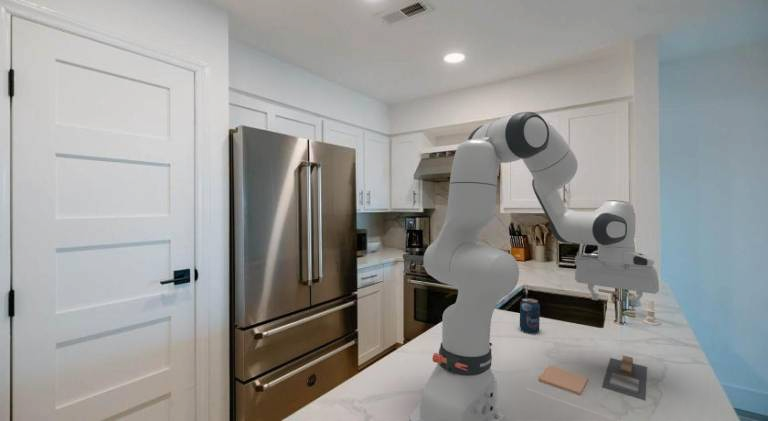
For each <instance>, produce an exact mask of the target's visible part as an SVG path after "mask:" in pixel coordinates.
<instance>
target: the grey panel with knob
mask: <svg viewBox="0 0 768 421" xmlns="http://www.w3.org/2000/svg"><path fill="white" fill-rule="evenodd" d="M621 361H622V363H621V368H620V375H619V374H615V373H612V376H611V379H610V386H612V387H615V388H618V389H622V390H625V391H629V392H632V393H635V394H638V390H639V380H637V379H634V378H631V375H632V368H633V364H634V362H633V361H634V358H633V357H631V356H627V355H622V359H621Z"/></svg>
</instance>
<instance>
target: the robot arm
mask: <svg viewBox="0 0 768 421" xmlns="http://www.w3.org/2000/svg"><path fill="white" fill-rule="evenodd" d="M520 160H522V161H523V163H524V164H525V166H526V168H527V169H528V171H529V173H530V174H531V176H532V180H531V182H532V183H531V186H532V189H533V192H534V194H535V197H536V198H537V200H538V203H539V206H540V207H541V208H542V210H543V212H544V215H545V217H546V218H547V220H548V223H549V227H550V231H551V233H552V235H553V237H554V239H555V240H557V241H558V242H559V243H564V244H582V245H590V246H597V253H586V252H580V253H579V254H578V253H577V255H576V256H575V257H574V264H575V266H576V268H575V275H574V280H575V281H576V282H577V283H579V284H586V285H587V288H588V291H589V292H590V294H591V300H593V301H598V300H599V293H597V292H595V290H594V288H595V286H598V287H605V288H613V289H620V290H624V291H625V290H626V291H633V292H636V293H635V295H636V297H635V298H634V299H633V298H631V299H630V307H634V308H637V307H638V301H639V300H640V299H641V298H642V297H643V295H644V294H643V293H646V294H654V295H655V294H657V293H659V292H660V282H659V281H660V280H659V276H658V271H657V269H656V267H655V266H654V265H655V260H654V258H653V257H651V256H648V255H646V254H643V253H640V252H637V251H635V250H636V249H635V244H634V237H635V233H636V213H635V209H634V206H633V205H632V204H631V203H630V202H628V201H622V200H613V199H612V200H604V201H602V203H601V206H600V207H598V208H597V209H594V210H592V211H589V210H588V211H583V210H582V211H577V210H572V209H569V208H568V207H566V205H565V203H564V201H563V199H562V196H561V194H560V193H559V190H560V189H562V188H564V187H565V186H566V185H568V184H569V183H570V182H571V181H572V179H573V178H574V177H575V175H576V173H577V170H578V166H579V164H578V160H577V158H576V155H575V153H574V152H573V150H572V149H571V147H570V145H569V144H568V143H567V141H566V139H565V138H564V137H563V136H562V134H561V133H560V132H559V131H558V130H557V129H556V128H555V127H554V126H553V125H552V124H551V123H550V122H549V121H547V120H545V119H544V117H542V116H541V115H540V114H538V113H536V112H533V111H522V112H517V113H515V114H512V115H509V116H505V117H501V118H500V117H499V118H497V119H494V120H492V121H489V122H487V123H486V124H483V125H480V126H478V127H476V129H474V130H473V131H472V132H471V133H470V134H469V136H468V138H467V140H465V141H463V142H461V143H460V144H459V145H458V146H457V148H456V150H455V153H454V157H453V161H452V166H451V171H450V178H449V186H448V197H447V198H448V200H447V208H446V215H445V218H444V221H443V225H442V227H441V230H440V231H439V234H438V235H437V237H436V239H435V240H434V241H433V242H432V243H431V244H430V245H429V246H427V247H426V250H425V252H424V254H423V261H422V262H423V266H424V270H425V272H426V273H427V275H429V276H431V277H432V278H434V279H435V280H437V281H438V282H440V283H442V284H445V285H448V286H451V287H455V288H457V290H458V291H457V298H456V301H455V302H454V303H453V304H451V305H449V306H448V307H446V308H445V310H444V311H443V313H442V326H441V327H442V330H441V332H442V333H441V339H442V340H441V343H440V346H439V349H438V352H437V353H436V352H435V353H433V354H432V362H433V363H434V364H435V363H436V366H435V368H434V369H433V371H432V372H431V375H430V376H429V379H428V381H427V382H426V385H425V387H424V389H423V390H422V392H421V399H420V401H419V402H418V404H417V405H416V407H415V408H414V410H413V411H412V412H411V414H410V415H409V421H505V415H504V413H503V412H502V411H501V410H500V409H499V396H498V395H499V394H498V381H497V378H496V377H495V375H494V373H493V372H492V368H491V367H492V360H493V355H492V349H491V347H490V343H491V341H490V339H491V324H492V318H493V314H494V311H495V309H496V306H497V305H498V304H499V302H500V301H501V300H502V299H503V298H505V297H507V296H508V295H510V294H511V293H513V291H514V290H515V288H516V287H517V285H518V283H519V279H520V268H519V265H518V261H517V260H516V258H515V257H514V256H513V255H512V254H511V253H509V252H507V251H504V250H502V249H499V248H496V247H494V246H490V245H482V244H477V239H478V237H479V234H480V233H481V231H482V230H483V229H484V228H486V227H487V226H489V225H490V224H491V223H492V222H493V221H494V219H495V216H496V207H497V206H496V205H497V195H498V194H497V193H498V192H497V191H498V169H499V166H500V164H507V163H512V162H516V161H520Z"/></svg>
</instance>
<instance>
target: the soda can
mask: <svg viewBox="0 0 768 421" xmlns="http://www.w3.org/2000/svg"><path fill="white" fill-rule="evenodd" d="M540 311H541V305H540V304H539V300H538V299H535V298H531V297H530V298H529V297H525V298H521V301H520V303H519V327H520V328H519V329H520V330H521V332H523V333H525V334H528V335H529V334H530V335H536V334H538V333H539V331H540V314H541V312H540Z"/></svg>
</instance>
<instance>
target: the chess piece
mask: <svg viewBox="0 0 768 421" xmlns="http://www.w3.org/2000/svg"><path fill="white" fill-rule="evenodd" d="M654 302H655V300H654V299H653V298H649V301H648V308H645V309H644V310H645V311H647V315H646V316H645V317H646V319H643V320H642V322H643V323H644V324H645V325H649V324H651V325H650V326H660V323H659V322H658V321H656V320H657V318H656V317H655V313H657V312H658V311H657V310H655V303H654Z"/></svg>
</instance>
